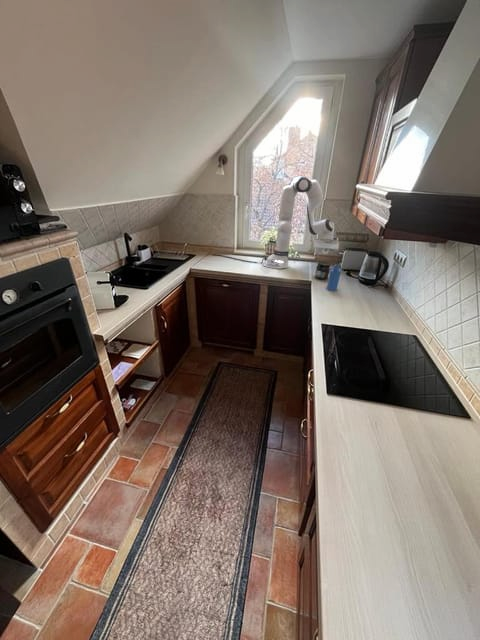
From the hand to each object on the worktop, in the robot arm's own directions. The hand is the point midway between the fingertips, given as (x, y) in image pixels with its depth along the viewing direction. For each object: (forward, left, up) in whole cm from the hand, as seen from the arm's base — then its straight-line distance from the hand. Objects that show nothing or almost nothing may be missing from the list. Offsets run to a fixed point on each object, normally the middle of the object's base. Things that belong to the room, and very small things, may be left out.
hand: (325, 254), depth 213 cm
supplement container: (0, -21, -14) cm, 25 cm away
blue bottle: (+8, -42, -14) cm, 44 cm away
